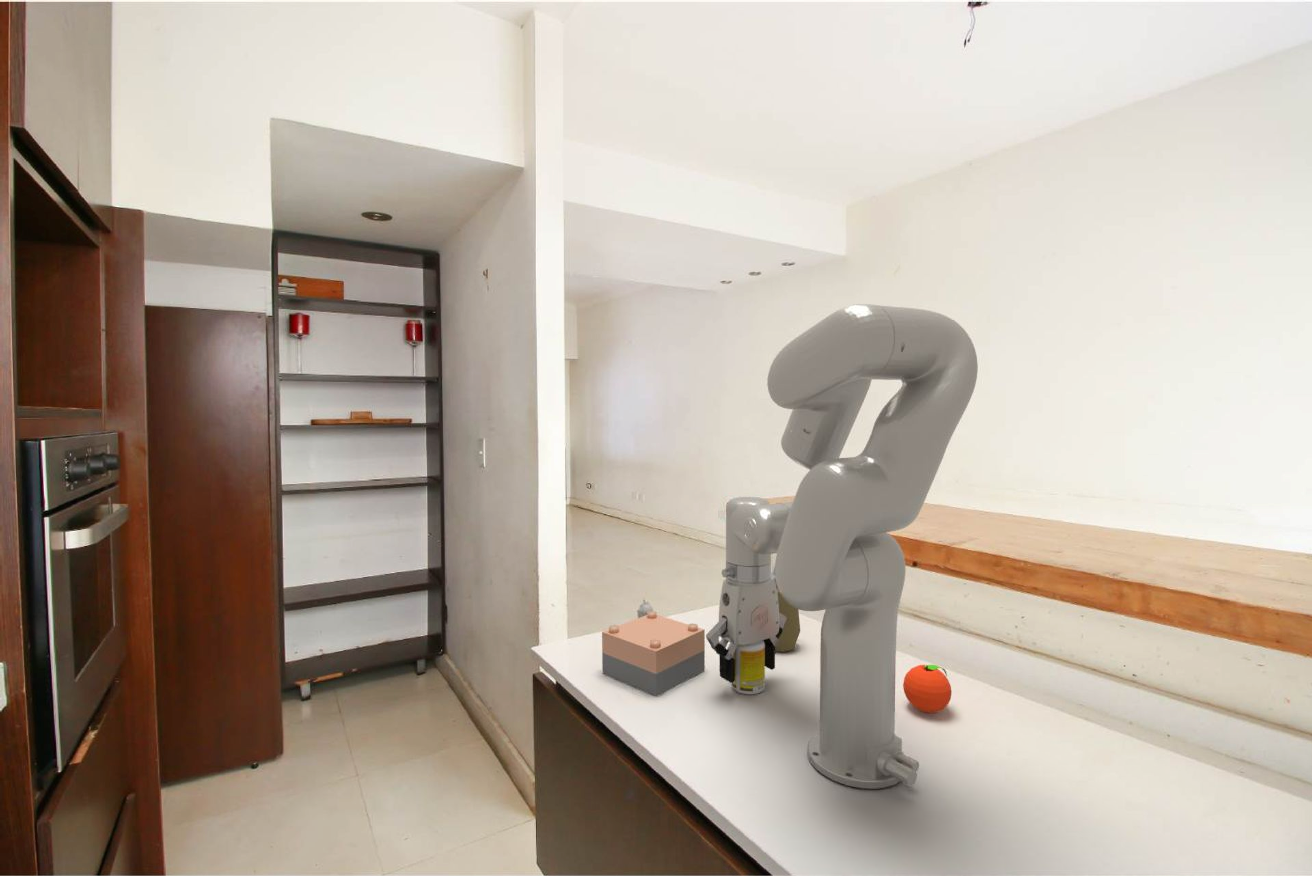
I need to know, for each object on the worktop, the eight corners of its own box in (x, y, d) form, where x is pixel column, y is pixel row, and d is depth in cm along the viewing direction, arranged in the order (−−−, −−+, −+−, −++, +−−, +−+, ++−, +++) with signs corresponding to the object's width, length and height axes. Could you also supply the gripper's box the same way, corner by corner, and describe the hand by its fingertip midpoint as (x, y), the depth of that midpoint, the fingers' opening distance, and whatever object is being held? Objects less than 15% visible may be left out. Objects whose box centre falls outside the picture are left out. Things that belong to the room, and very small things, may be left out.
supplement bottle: (771, 689, 103) (771, 629, 102) (749, 699, 99) (749, 637, 99) (746, 677, 107) (746, 620, 106) (724, 687, 103) (724, 628, 103)
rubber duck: (644, 629, 130) (644, 592, 130) (667, 636, 126) (667, 598, 126) (626, 636, 126) (626, 598, 126) (650, 644, 122) (650, 605, 122)
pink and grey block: (704, 670, 110) (704, 625, 109) (656, 696, 100) (656, 646, 100) (651, 651, 119) (651, 609, 118) (602, 673, 109) (602, 627, 108)
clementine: (927, 694, 101) (928, 652, 100) (965, 713, 94) (966, 668, 94) (893, 705, 97) (893, 661, 97) (930, 725, 91) (930, 679, 90)
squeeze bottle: (750, 643, 122) (750, 555, 121) (782, 636, 126) (782, 550, 125) (776, 658, 115) (776, 564, 114) (809, 649, 119) (809, 559, 118)
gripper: (721, 585, 94) (721, 695, 95) (801, 568, 103) (800, 668, 105) (693, 574, 100) (693, 677, 101) (770, 559, 110) (770, 653, 111)
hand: (747, 672), depth 103 cm, fingers open, 8 cm apart
